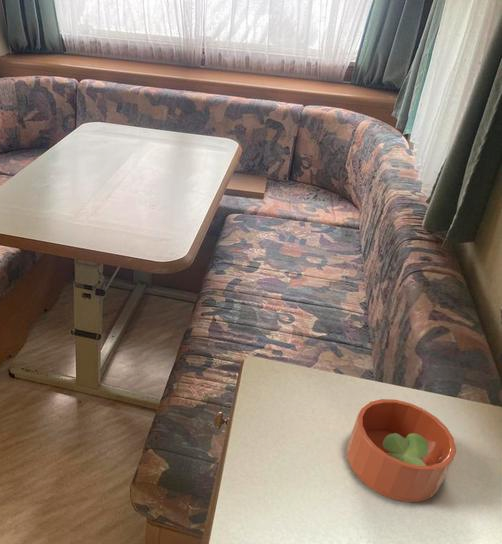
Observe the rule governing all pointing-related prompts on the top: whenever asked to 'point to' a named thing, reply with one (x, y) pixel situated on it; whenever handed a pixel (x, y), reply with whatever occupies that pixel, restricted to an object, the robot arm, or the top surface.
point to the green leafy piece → (407, 448)
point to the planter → (390, 471)
